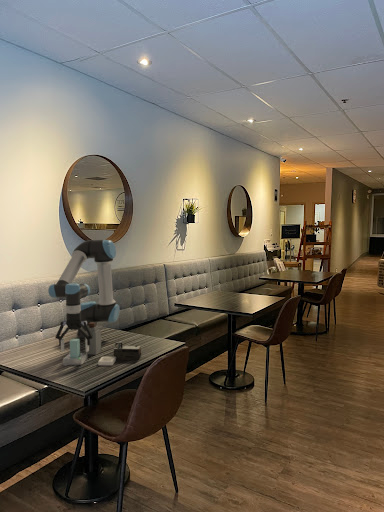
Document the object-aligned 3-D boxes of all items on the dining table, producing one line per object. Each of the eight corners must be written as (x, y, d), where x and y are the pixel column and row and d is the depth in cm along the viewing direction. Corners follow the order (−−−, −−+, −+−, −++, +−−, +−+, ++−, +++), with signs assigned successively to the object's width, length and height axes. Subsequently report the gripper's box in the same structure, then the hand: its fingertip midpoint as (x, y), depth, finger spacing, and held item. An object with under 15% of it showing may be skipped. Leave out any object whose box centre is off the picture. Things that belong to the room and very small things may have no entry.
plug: (73, 360, 218) (72, 338, 217) (80, 360, 218) (79, 338, 217) (70, 362, 214) (69, 340, 213) (77, 362, 214) (77, 340, 213)
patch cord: (81, 352, 233) (81, 350, 233) (82, 352, 233) (82, 350, 233) (73, 359, 221) (73, 357, 221) (75, 359, 221) (75, 357, 221)
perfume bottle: (96, 355, 227) (95, 324, 226) (85, 355, 228) (84, 324, 227) (101, 351, 234) (100, 321, 232) (90, 351, 235) (89, 321, 234)
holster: (102, 361, 217) (102, 356, 217) (115, 361, 217) (115, 356, 217) (98, 366, 210) (98, 361, 210) (112, 366, 210) (112, 361, 209)
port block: (69, 359, 222) (69, 352, 221) (87, 359, 221) (87, 352, 221) (63, 365, 212) (62, 358, 211) (81, 365, 211) (81, 358, 211)
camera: (142, 357, 224) (142, 339, 223) (138, 361, 216) (138, 343, 215) (116, 356, 225) (115, 339, 225) (112, 361, 218) (111, 343, 217)
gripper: (47, 314, 211) (49, 353, 213) (94, 314, 210) (95, 353, 212) (53, 310, 219) (55, 348, 220) (98, 310, 217) (99, 348, 219)
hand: (75, 351), depth 216 cm, fingers open, 13 cm apart
